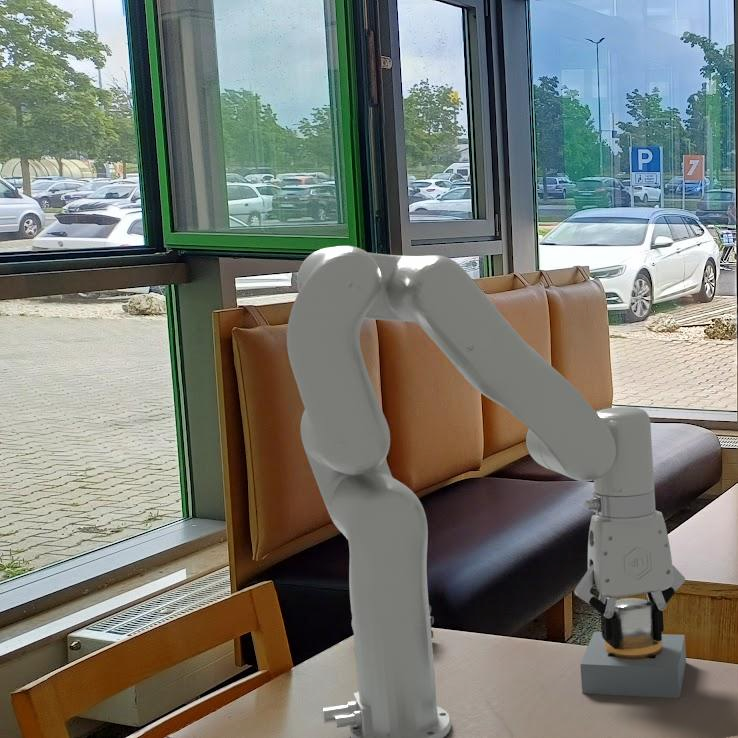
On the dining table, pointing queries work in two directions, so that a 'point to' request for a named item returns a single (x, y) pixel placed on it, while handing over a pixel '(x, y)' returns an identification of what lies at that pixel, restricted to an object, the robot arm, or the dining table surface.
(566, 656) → the dining table surface
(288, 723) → the dining table surface
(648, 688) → the housing
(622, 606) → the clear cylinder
